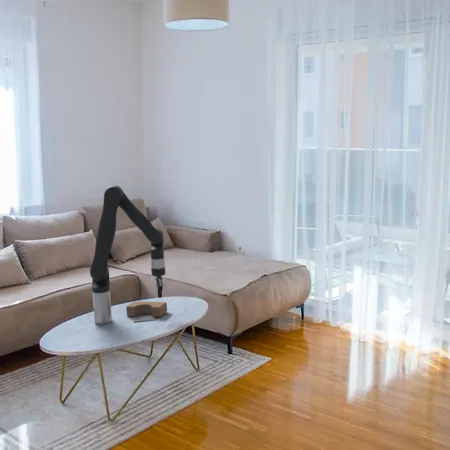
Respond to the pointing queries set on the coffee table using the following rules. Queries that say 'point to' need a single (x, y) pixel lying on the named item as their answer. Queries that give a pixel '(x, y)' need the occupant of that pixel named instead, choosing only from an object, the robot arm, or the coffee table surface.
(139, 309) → the decorative block
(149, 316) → the mat
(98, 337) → the coffee table surface
